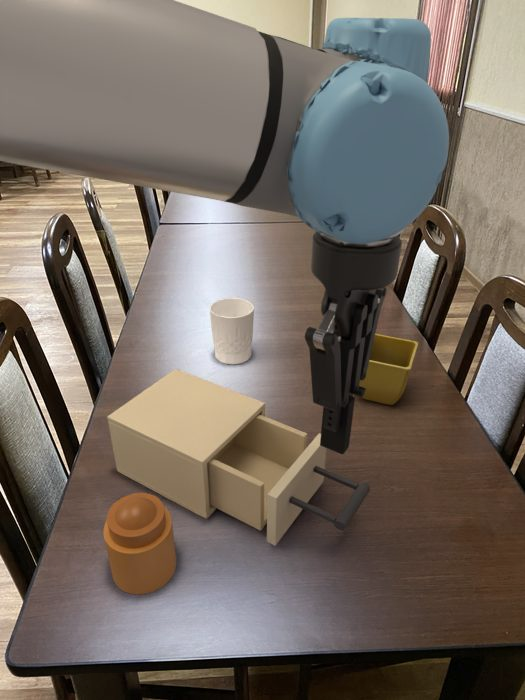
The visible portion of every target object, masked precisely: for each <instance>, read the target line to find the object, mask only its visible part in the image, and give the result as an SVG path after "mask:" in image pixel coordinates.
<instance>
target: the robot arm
mask: <svg viewBox="0 0 525 700" xmlns="http://www.w3.org/2000/svg"><path fill="white" fill-rule="evenodd" d="M431 33H432V32H431V30H430V28H429V26H428V25H427V23H425V22H424V21H422V20H421V19H418V18H407V17H406V18H402V17H401V18H395V17H394V18H390V17H381V18H380V17H379V18H378V17H337V18H333V19H332V20H331V21H330V22H329V23H328V25H327V27H326V31H325V37H324V41H323V43H322V48H317V49H316V48H313V47H310V46H307V45H305V44H303V43H298V42H296V41H293V40H290V39H287V38H285V37H281V36H278V35H273V34H268V33H266V32H262V31H259V30H257V28H256V27H254V26H250V25H248V24H245V23H241V22H239V21H236V20H233V19H230V18H228V17H224V16H222V15H219V14H215V13H213V12H210V11H208V10H207V11H206V10H204V9H201V8H198V7H195V6H192V5H190V4H187V3H183V2H180V1H177V0H0V162H2V163H8V164H13V165H14V164H15V165H20V166H25V167H30V168H36V169H42V170H48V171H53V172H58V173H59V172H60V173H65V174H70V175H74V176H75V175H76V176H81V177H87V178H93V179H98V180H104V181H108V182H115V183H120V184H126V185H130V186H137V187H142V188H147V189H148V188H149V189H153V190H160V191H163V192H164V191H165V192H171V193H177V194H180V195H181V194H182V195H186V196H193V197H199V198H205V199H209V200H214V201H221V202H224V203H229V204H233V205H237V206H241V207H246V208H251V209H257V210H263V211H268V212H273V213H278V214H284V215H289V216H293V217H296V218H299V219H300V220H301V221H302V223H304V224H305V225H306V226H308V227H309V228H311V229H312V230H313V231H314V233H313V235H312V244H311V257H310V270H311V273H312V275H313V277H315V279H317V280H318V281H319V282H320V283H321V284H322V286H323V287H324V289H325V290H324V293H323V297H322V300H321V304H320V313H321V316H322V319H321V321H320V322H319V324H318V327H317V328H316V327H312V326H308V327H307V329H306V330H305V334H304V340H305V343H306V345H307V347H308V349H309V363H310V364H309V365H310V377H311V379H310V380H311V391H312V403H313V404H314V405H318V406H321V407H322V417H321V418H322V419H321V430H320V434H321V439H320V446H323V447H325V448H326V449H327V450H330V451H333V452H335V453H337V454H340V455H344V454H345V453H346V451H347V450H348V449H349V447H350V441H351V433H352V425H353V417H354V411H355V409H354V408H355V402H356V397H355V396H359V397H360V398H362V396H363V395H364V393H365V390H366V388H363V387H360V386H359V383H360V380H362V381H363V380H364V379H365V378H366V375H367V374H366V373H367V369H368V364H369V360H370V355H371V351H372V346H373V342H374V337H375V334H377V327H378V324H379V320H380V319H379V318H380V314H381V310H382V307H383V304H384V301H385V298H386V296H387V286H389V285H391V284H392V283H393V282H394V281H395V280H396V279H397V276H398V272H399V266H400V260H401V259H400V258H401V252H402V245H403V241H402V239H401V237H400V234H402V233H403V231H404V230H405V229H406V228H407V227H409V226H410V225H411V224H413V222H414V221H415V220H417V218H418V217H419V216H420V215H421V214H422V213H423V212H424V211H425V209H426V208H427V207H428V205H429V204H430V202H431V201H432V199H433V198H434V195H435V193H436V191H437V189H438V185H439V184H440V182H441V181H442V179H443V177H442V176H443V172H444V170H445V168H446V165H447V162H448V156H449V148H450V132H449V131H450V130H449V124H448V118H447V115H446V112H445V110H444V107H443V105H442V102H441V101H440V99H439V96H438V95H437V93H435V92H436V91H434V89H433V88H432V87H431V86H430V84H429V82H428V80H429V72H430V71H429V70H430V62H431V47H432V46H431V45H432V34H431ZM354 395H355V396H354Z"/></svg>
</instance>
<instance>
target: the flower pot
mask: <svg viewBox="0 0 525 700" xmlns="http://www.w3.org/2000/svg"><path fill="white" fill-rule="evenodd" d="M418 346H419V342H418V341H416V340H412V339H406V338H400V337H395V336H390V335H385V334H384V335H383V334H379V333H375V337H374V342H373V346H372V351H371V355H370V360H369V364H368V369H367V373H366V374H367V375H366V378H365V379H364V380H363V381H362V380H360V383H359V386H360V387H363V388H366V390H365V393H364V395H363V396H362V397H361V398H362V399H363V400H367V401H371V402H375V403H379V404H383V405H388V406H393V405H395V404H396V403H397V402H398V401H399V400H400V399H401V398H402V396H403V394H404V393H405V390H406V386H407V383H408V380H409V376H410V374H411V370H412V366H413V363H414V360H415V357H416V354H417V350H418Z"/></svg>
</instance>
